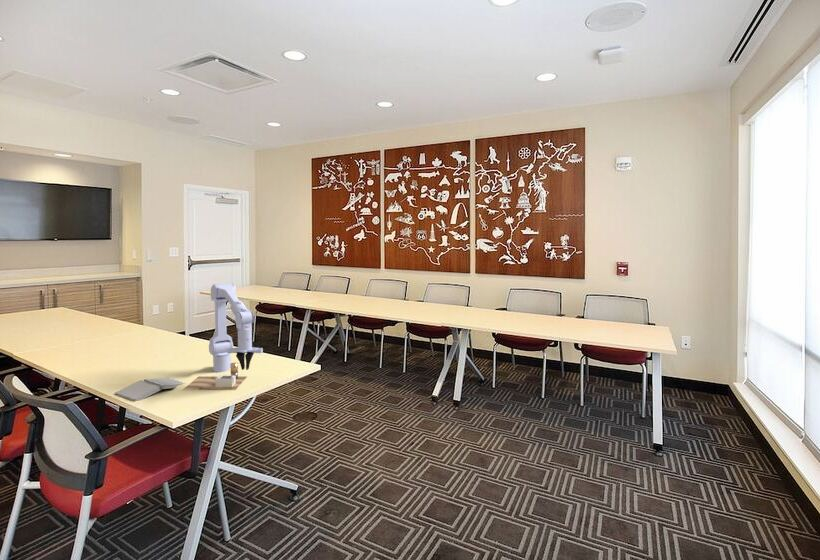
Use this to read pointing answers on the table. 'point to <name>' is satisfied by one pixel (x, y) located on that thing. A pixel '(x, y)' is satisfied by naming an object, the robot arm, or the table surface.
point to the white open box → (225, 381)
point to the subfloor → (211, 383)
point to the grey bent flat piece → (147, 388)
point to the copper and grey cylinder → (234, 369)
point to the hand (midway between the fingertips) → (245, 369)
